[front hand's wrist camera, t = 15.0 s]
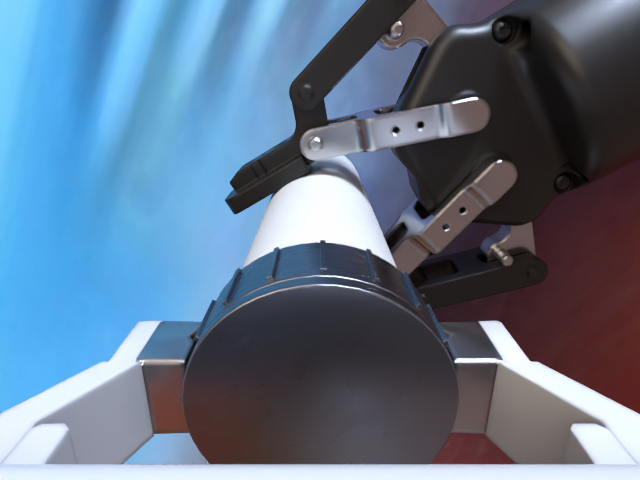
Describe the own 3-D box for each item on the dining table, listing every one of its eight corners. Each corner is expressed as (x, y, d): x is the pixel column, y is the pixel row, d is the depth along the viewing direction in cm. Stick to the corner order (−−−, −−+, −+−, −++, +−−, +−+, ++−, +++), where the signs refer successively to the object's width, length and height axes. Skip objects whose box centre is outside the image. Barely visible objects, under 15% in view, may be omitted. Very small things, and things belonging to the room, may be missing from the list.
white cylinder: (373, 206, 25) (465, 423, 9) (301, 239, 26) (273, 493, 10) (339, 132, 24) (380, 240, 8) (263, 169, 24) (161, 337, 8)
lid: (315, 186, 9) (314, 216, 7) (483, 342, 10) (522, 404, 8) (158, 349, 10) (120, 412, 8) (324, 467, 11) (325, 546, 9)
